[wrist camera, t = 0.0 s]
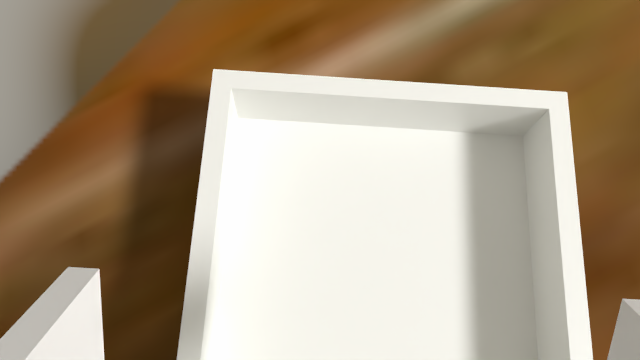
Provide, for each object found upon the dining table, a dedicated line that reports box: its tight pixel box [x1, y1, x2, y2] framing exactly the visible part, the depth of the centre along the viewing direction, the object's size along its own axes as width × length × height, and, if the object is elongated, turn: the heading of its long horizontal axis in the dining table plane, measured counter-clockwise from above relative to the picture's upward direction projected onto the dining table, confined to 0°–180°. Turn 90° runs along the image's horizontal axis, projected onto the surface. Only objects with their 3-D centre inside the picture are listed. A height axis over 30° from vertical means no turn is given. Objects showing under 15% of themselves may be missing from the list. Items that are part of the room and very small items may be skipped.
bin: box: [177, 69, 593, 360], centre depth 28 cm, size 18×18×4 cm
